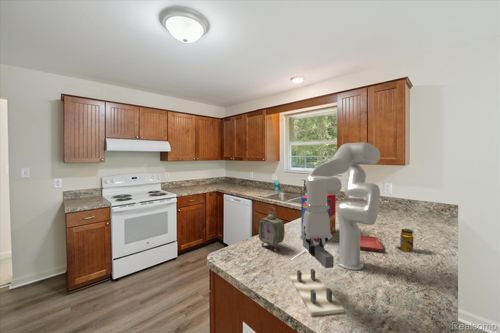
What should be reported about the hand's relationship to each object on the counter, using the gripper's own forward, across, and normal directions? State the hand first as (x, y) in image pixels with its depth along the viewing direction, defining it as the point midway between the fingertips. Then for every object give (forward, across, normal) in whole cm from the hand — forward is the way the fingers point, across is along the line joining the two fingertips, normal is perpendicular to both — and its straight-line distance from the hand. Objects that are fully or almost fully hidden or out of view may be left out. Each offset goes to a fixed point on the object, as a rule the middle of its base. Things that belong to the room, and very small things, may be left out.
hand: (316, 254), depth 85 cm
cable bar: (0, 0, 0) cm, 0 cm away
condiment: (+15, -68, -28) cm, 76 cm away
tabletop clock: (+16, +6, -46) cm, 48 cm away
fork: (+16, -8, -34) cm, 38 cm away
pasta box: (+15, -31, -59) cm, 68 cm away
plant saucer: (+15, -50, -39) cm, 65 cm away
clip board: (+16, +1, 0) cm, 16 cm away
